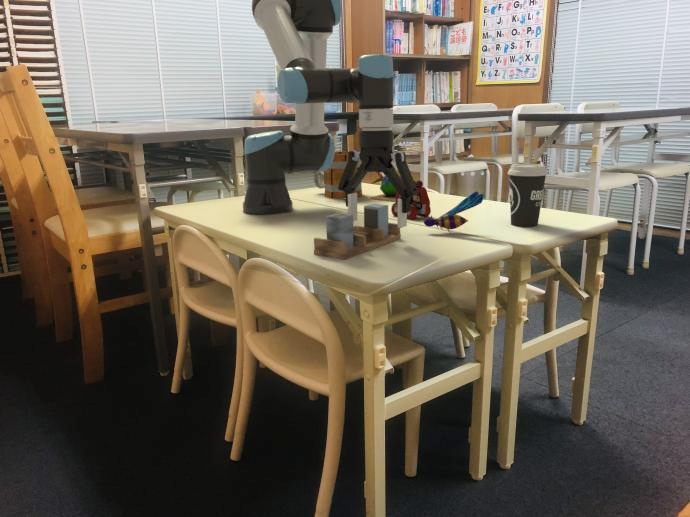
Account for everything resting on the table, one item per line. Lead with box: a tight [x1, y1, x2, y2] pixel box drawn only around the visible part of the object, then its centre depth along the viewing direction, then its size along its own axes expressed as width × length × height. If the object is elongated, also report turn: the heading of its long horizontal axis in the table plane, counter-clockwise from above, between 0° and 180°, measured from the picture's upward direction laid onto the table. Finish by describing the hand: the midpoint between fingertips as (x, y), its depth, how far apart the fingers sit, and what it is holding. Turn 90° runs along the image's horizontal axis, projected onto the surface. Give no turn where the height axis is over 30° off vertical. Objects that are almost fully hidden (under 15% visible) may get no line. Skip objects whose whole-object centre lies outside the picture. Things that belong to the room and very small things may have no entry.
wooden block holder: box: [313, 212, 402, 260], centre depth 121 cm, size 8×22×8 cm, turn 143°
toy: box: [423, 190, 485, 233], centre depth 130 cm, size 7×14×10 cm, turn 95°
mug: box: [313, 150, 363, 199], centre depth 191 cm, size 20×14×15 cm
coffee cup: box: [507, 163, 549, 228], centre depth 137 cm, size 10×10×15 cm
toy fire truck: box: [390, 179, 432, 220], centre depth 152 cm, size 7×12×10 cm, turn 37°
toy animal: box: [369, 170, 412, 203], centre depth 182 cm, size 11×15×10 cm
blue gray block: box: [363, 203, 389, 236], centre depth 126 cm, size 4×5×7 cm
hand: (376, 223), depth 126 cm, fingers open, 13 cm apart
